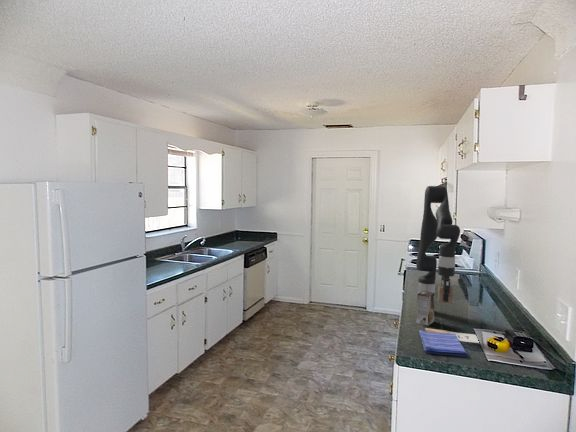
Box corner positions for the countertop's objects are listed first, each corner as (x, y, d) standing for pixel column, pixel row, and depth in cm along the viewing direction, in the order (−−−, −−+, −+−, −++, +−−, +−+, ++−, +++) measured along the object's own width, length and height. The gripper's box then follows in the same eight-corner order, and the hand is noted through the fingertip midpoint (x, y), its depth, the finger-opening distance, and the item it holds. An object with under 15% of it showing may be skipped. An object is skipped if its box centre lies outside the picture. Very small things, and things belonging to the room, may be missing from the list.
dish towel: (425, 354, 165) (425, 347, 165) (418, 333, 188) (418, 327, 188) (468, 358, 162) (469, 351, 161) (455, 336, 185) (455, 331, 185)
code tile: (449, 331, 194) (449, 331, 194) (475, 335, 190) (475, 334, 190) (451, 340, 182) (451, 339, 182) (479, 343, 179) (479, 343, 178)
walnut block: (437, 299, 193) (438, 285, 192) (450, 300, 191) (451, 286, 191) (438, 302, 187) (439, 288, 187) (452, 303, 185) (453, 289, 185)
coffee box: (422, 319, 213) (423, 290, 212) (434, 322, 209) (435, 292, 208) (415, 323, 206) (417, 293, 205) (428, 326, 202) (429, 295, 201)
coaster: (424, 329, 197) (424, 327, 197) (448, 331, 194) (448, 330, 194) (425, 335, 187) (425, 334, 187) (450, 338, 184) (450, 337, 184)
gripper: (436, 262, 196) (435, 295, 197) (439, 267, 182) (438, 302, 183) (452, 263, 194) (451, 296, 195) (457, 268, 180) (455, 304, 181)
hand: (444, 299), depth 189 cm, fingers closed on walnut block, 6 cm apart
